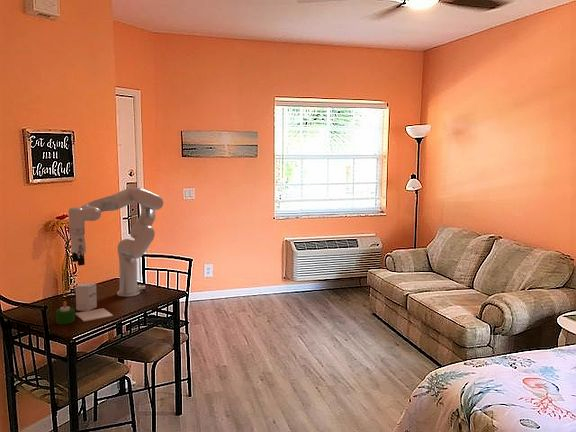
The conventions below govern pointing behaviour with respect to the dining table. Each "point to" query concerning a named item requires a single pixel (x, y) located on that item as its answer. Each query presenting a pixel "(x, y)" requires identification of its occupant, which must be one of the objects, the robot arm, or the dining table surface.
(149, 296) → the dining table surface
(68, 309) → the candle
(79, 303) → the supplement box
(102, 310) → the mat
